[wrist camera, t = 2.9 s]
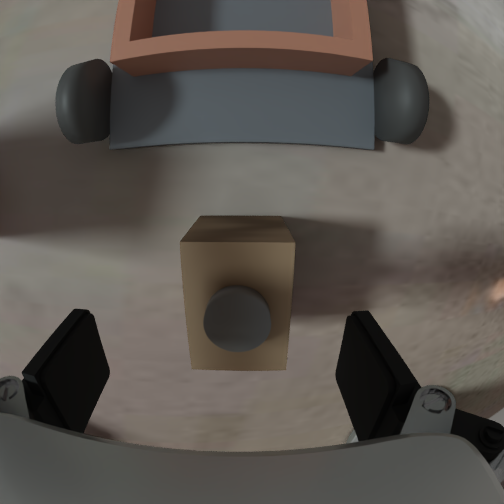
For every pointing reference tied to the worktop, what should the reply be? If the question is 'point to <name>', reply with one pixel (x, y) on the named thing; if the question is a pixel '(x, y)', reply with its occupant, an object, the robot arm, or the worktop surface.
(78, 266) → the worktop surface
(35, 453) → the robot arm
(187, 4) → the chassis
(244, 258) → the tan block
